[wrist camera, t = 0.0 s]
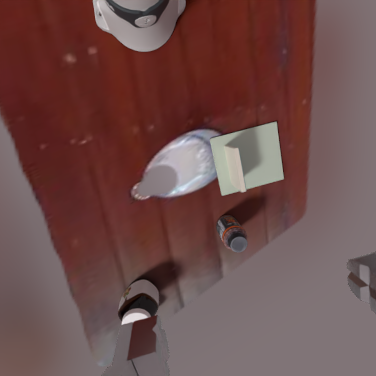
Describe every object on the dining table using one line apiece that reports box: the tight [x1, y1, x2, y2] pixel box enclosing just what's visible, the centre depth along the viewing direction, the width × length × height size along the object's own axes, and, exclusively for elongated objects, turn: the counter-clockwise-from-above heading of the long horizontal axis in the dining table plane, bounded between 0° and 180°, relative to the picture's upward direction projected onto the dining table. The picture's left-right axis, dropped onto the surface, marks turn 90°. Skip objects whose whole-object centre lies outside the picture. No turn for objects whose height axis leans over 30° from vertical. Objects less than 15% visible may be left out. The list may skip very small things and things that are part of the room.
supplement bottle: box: [216, 215, 247, 252], centre depth 56 cm, size 6×6×11 cm
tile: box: [224, 145, 246, 192], centre depth 53 cm, size 10×1×8 cm, turn 14°
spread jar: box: [118, 279, 159, 325], centre depth 59 cm, size 12×11×12 cm
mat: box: [210, 122, 284, 196], centre depth 57 cm, size 15×17×1 cm
